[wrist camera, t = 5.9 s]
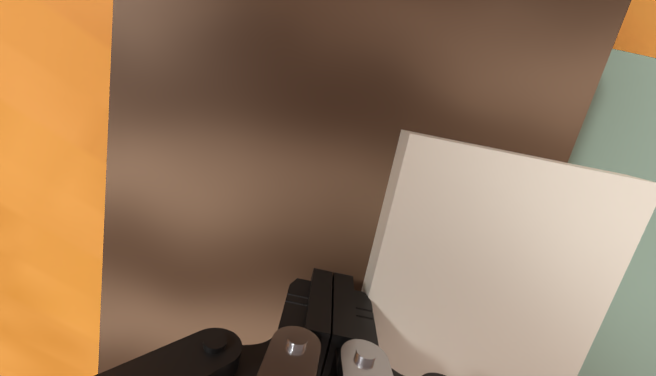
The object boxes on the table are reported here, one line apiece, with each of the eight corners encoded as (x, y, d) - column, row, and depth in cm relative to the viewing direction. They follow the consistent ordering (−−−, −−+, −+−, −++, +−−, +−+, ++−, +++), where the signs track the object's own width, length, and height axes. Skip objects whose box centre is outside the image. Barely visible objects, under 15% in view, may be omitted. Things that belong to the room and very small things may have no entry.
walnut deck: (180, -71, 14) (118, -138, 10) (557, 12, 14) (639, -21, 10) (142, 394, 20) (94, 465, 16) (407, 446, 20) (424, 528, 16)
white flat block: (401, 129, 12) (409, 133, 10) (626, 174, 12) (665, 185, 10) (333, 404, 15) (332, 437, 13) (512, 438, 15) (531, 474, 13)
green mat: (560, 40, 14) (566, 38, 14) (915, 118, 15) (930, 118, 14) (420, 435, 20) (422, 441, 20) (681, 486, 20) (688, 493, 20)
